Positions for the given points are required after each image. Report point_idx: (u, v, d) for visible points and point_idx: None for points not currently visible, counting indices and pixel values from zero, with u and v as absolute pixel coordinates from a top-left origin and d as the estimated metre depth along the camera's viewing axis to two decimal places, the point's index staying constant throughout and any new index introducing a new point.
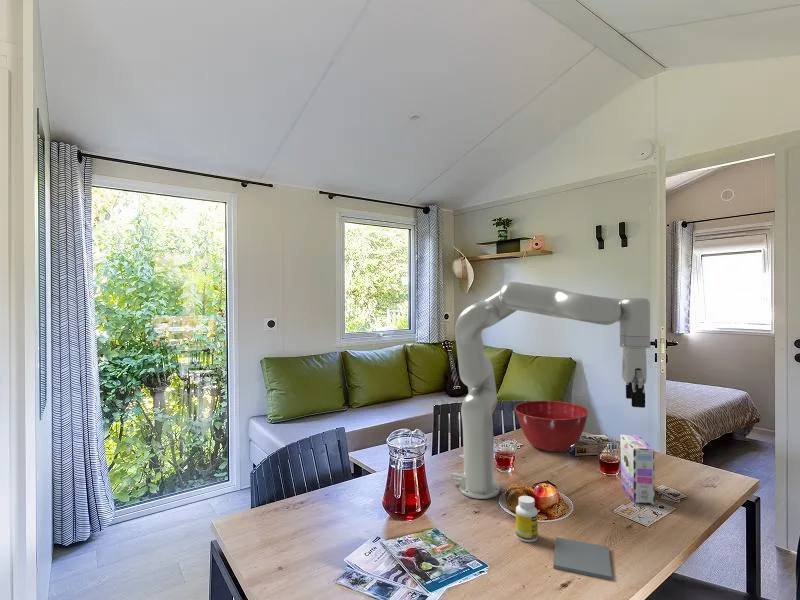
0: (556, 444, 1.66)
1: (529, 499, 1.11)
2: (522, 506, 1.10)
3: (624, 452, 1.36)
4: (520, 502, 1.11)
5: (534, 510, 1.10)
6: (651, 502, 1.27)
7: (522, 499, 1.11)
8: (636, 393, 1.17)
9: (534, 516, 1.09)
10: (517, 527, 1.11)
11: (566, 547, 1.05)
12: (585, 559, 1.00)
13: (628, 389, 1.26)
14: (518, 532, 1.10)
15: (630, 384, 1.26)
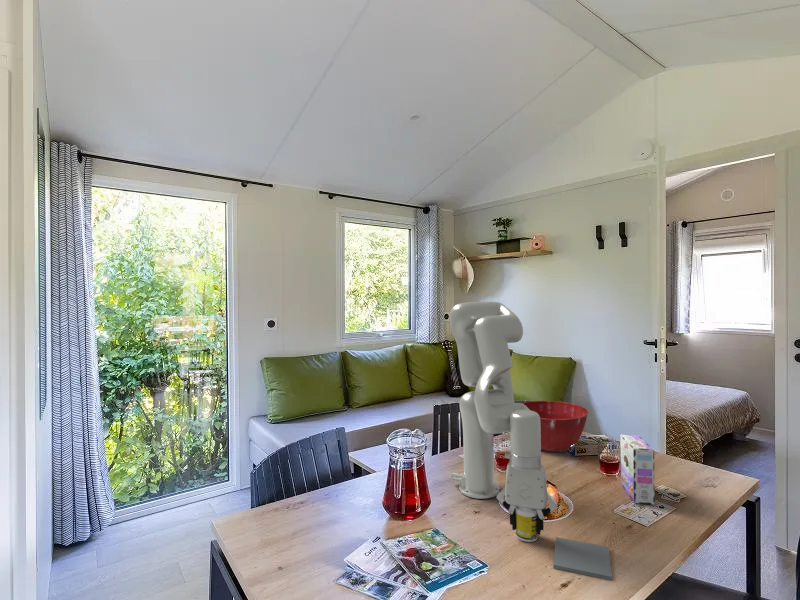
0: (556, 444, 1.66)
1: None
2: None
3: (624, 452, 1.36)
4: None
5: (534, 510, 1.10)
6: (651, 502, 1.27)
7: None
8: (542, 518, 1.09)
9: (534, 515, 1.09)
10: (517, 527, 1.11)
11: (566, 547, 1.05)
12: (585, 559, 1.00)
13: (515, 519, 1.12)
14: (518, 532, 1.10)
15: (514, 512, 1.12)
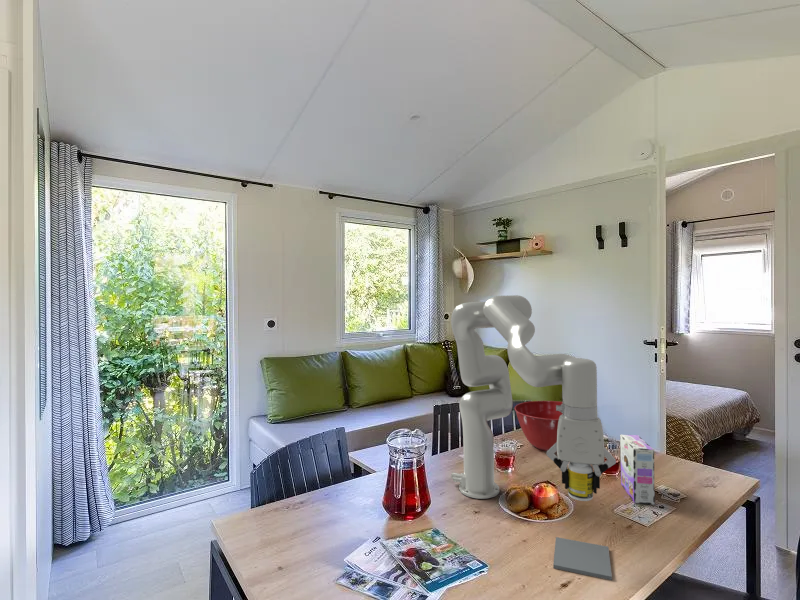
0: None
1: None
2: None
3: (624, 452, 1.36)
4: None
5: (589, 466, 1.00)
6: (651, 502, 1.27)
7: None
8: None
9: (590, 472, 0.99)
10: (570, 485, 1.01)
11: (566, 547, 1.05)
12: (585, 559, 1.00)
13: (567, 477, 1.02)
14: (572, 491, 1.01)
15: (567, 470, 1.03)
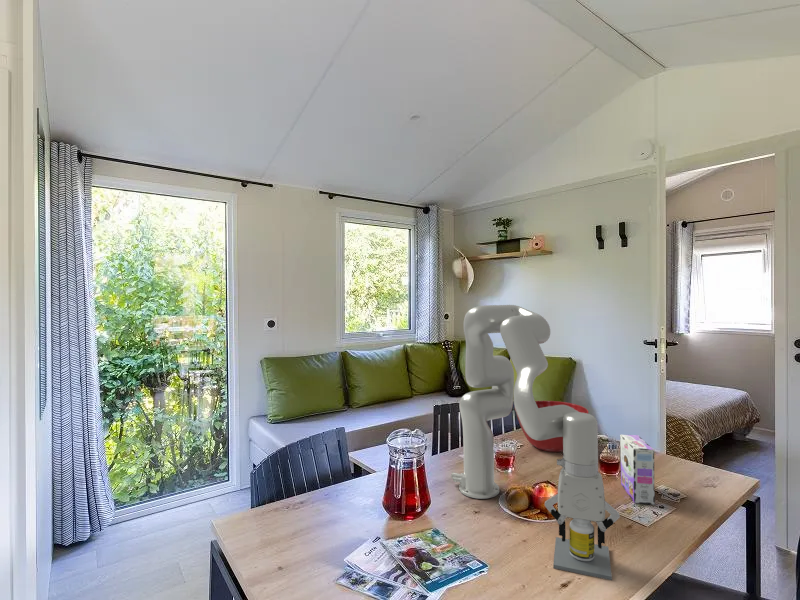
0: (556, 444, 1.66)
1: None
2: (578, 522, 1.01)
3: (624, 452, 1.36)
4: None
5: (591, 526, 1.01)
6: (651, 502, 1.27)
7: None
8: None
9: (591, 532, 1.00)
10: (572, 545, 1.01)
11: (566, 547, 1.05)
12: None
13: (564, 529, 1.02)
14: (573, 550, 1.01)
15: (564, 522, 1.03)
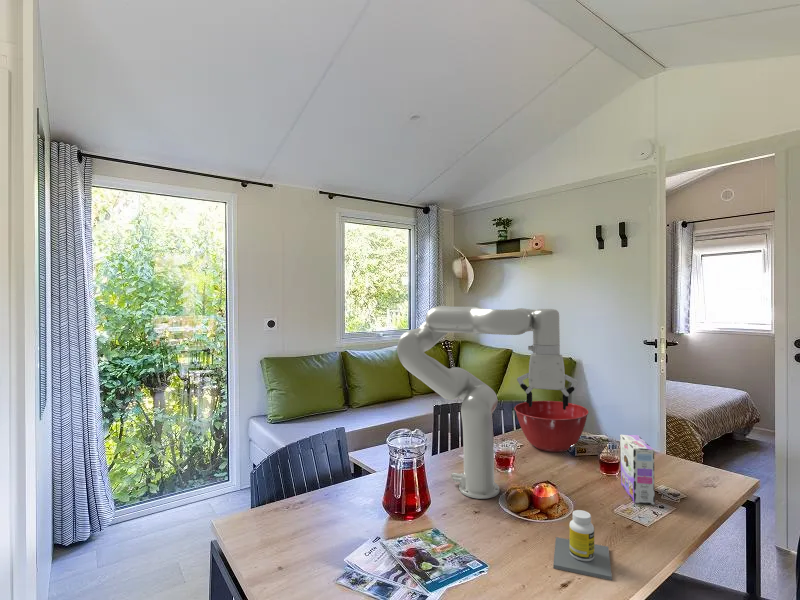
0: (556, 444, 1.66)
1: (585, 514, 1.02)
2: (578, 522, 1.01)
3: (624, 452, 1.36)
4: (575, 517, 1.01)
5: (591, 526, 1.01)
6: (651, 502, 1.27)
7: (577, 514, 1.02)
8: (567, 396, 1.27)
9: (591, 532, 1.00)
10: (572, 545, 1.01)
11: (566, 547, 1.05)
12: None
13: (531, 397, 1.31)
14: (573, 550, 1.01)
15: (530, 392, 1.31)
